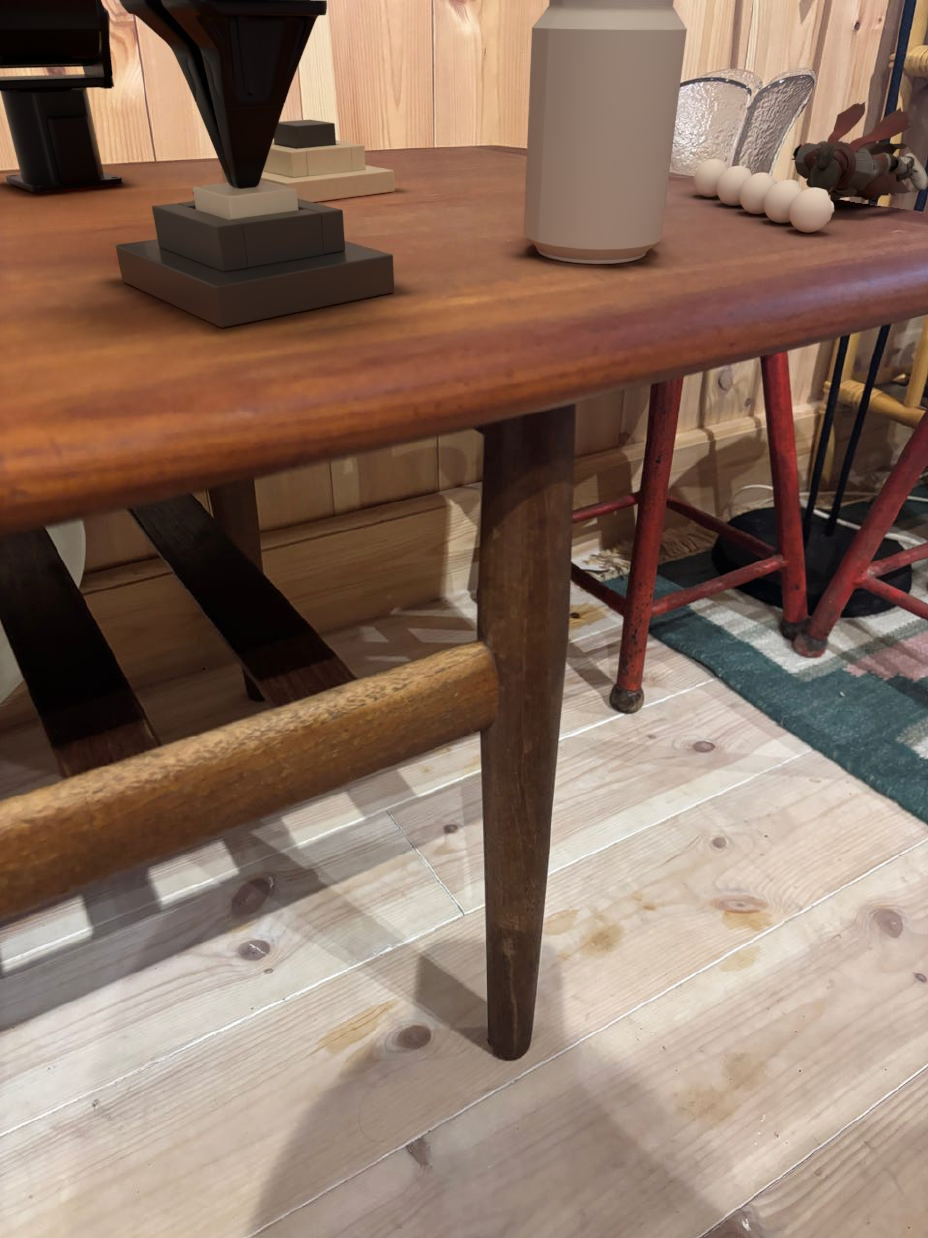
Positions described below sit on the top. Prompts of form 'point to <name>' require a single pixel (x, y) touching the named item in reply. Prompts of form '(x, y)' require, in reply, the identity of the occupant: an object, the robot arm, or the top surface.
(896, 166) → the action figure
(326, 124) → the black key
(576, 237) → the can
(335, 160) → the beige stepped base
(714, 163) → the spheres
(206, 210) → the beige square block
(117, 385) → the top surface
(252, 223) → the dark grey stepped block
